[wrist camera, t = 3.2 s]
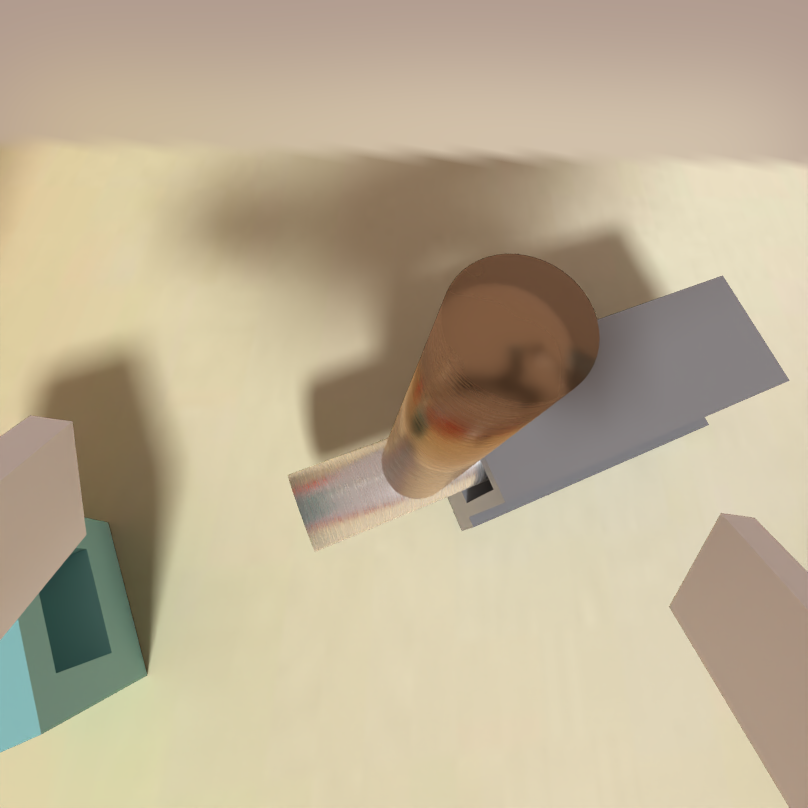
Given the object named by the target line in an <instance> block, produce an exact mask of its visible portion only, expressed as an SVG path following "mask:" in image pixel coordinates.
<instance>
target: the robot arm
mask: <svg viewBox="0 0 808 808" xmlns="http://www.w3.org/2000/svg"><path fill="white" fill-rule="evenodd" d="M85 536H86V527H85V519H84V511H83V502H82V494H81V486H80V478H79V470H78V462H77V454H76V446H75V437H74V429H73V421H66V420H59V419H52V418H45V417H38V416H31V415H30V416H28V417H27V418H26V419H24V420H23V421H21V422H20V423H19V424H17V425H16V426H14V427H13V428H12V429H10V430H9V431H7V432H6V433H5V434H3V435H2V436H0V640H1V639H2V638H3V636H4V635H5V634H6V633H7V631H8V630H9V629H10V628H11V627H12V625H13V624H14V623H15V622H16V620H17V619H18V618H19V617H20V616H21V614H22V613H23V612H24V611H25V609H26V608H27V607H28V606H29V604H30V603H31V602H32V601H33V600H34V598H35V597H36V596H37V595H38V593H39V592H40V591H41V590H42V589H43V587H44V586H45V585H46V584H47V582H48V581H49V580H50V579H51V578H52V576H53V575H54V574H55V573H56V571H57V570H58V569H59V568H60V567H61V565H62V564H63V563H64V562H65V560H66V559H67V558H68V557H69V556H70V554H71V553H72V552H73V551H74V549H75V548H76V547H77V546H78V544H79V543H80V542H81V541H82V540H83V538H84V537H85ZM669 607H670V609H671V611H672V612H673V614H674V616H675V617H676V619H677V621H678V622H679V624H680V626H681V627H682V629H683V631H684V632H685V634H686V636H687V637H688V639H689V641H690V642H691V644H692V646H693V647H694V649H695V651H696V652H697V654H698V656H699V657H700V659H701V661H702V662H703V664H704V666H705V667H706V669H707V671H708V672H709V674H710V676H711V677H712V679H713V681H714V682H715V684H716V686H717V687H718V689H719V691H720V693H721V694H722V696H723V698H724V699H725V701H726V703H727V704H728V706H729V708H730V709H731V711H732V713H733V714H734V716H735V718H736V719H737V721H738V723H739V724H740V726H741V728H742V729H743V731H744V733H745V734H746V736H747V738H748V739H749V741H750V743H751V744H752V746H753V748H754V749H755V751H756V753H757V754H758V756H759V758H760V759H761V761H762V763H763V764H764V766H765V768H766V769H767V771H768V773H769V774H770V776H771V778H772V779H773V781H774V783H775V784H776V786H777V788H778V789H779V791H780V793H781V794H782V796H783V798H784V799H785V801H786V803H787V804H788V806H789V808H808V572H807V571H806V570H805V569H804V568H803V567H802V566H801V565H800V564H799V563H798V562H797V561H796V560H795V559H794V558H793V557H792V556H791V555H790V553H789V552H788V551H787V550H786V549H785V548H784V547H783V546H782V545H781V544H780V543H779V542H778V541H777V540H776V539H775V538H774V537H773V536H772V535H771V534H770V533H769V532H768V531H767V530H766V529H765V528H764V527H763V526H762V525H761V524H760V523H759V522H758V521H757V520H756V519H755V518H752V517H745V516H738V515H731V514H724V513H721V514H720V516H719V518H718V519H717V521H716V523H715V525H714V527H713V528H712V530H711V532H710V534H709V536H708V537H707V539H706V541H705V543H704V545H703V546H702V548H701V550H700V552H699V554H698V555H697V557H696V559H695V561H694V563H693V564H692V566H691V568H690V570H689V572H688V574H687V575H686V577H685V579H684V581H683V583H682V584H681V586H680V588H679V590H678V592H677V593H676V595H675V597H674V599H673V601H672V602H671V604H670V606H669Z"/></svg>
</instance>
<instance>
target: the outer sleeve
mask: <svg viewBox="0 0 808 808" xmlns="http://www.w3.org/2000/svg"><path fill="white" fill-rule="evenodd" d="M597 321H598V326H599V337H600V340H599V350H598V354H597V358H596V360H595V363H594V366H593V367H592V369H591V371H590V373H589V374H588V375H587V377H586V378H585V379H584V380H583V381H582V382H581V383H580V384H579V385H578V386H577V387H576V388H574V389H573V390H572V391H571V392H569V393H568V394H567V395H565V396H564V397H563V398H561V399H560V400H559V401H557V402H556V403H555V404H553V405H552V406H551V407H550V408H548V409H547V410H546V411H544V412H543V413H542V414H540V415H539V416H538V417H536V418H535V419H534V420H532V421H531V422H530V423H528V424H527V425H526V426H525V427H523V428H522V429H521V430H519V431H518V432H517V433H515V434H514V435H513V436H511V437H510V438H509V439H507V440H506V441H505V442H503V443H502V444H501V445H500V446H498V447H497V448H496V449H494V450H493V451H492V452H490V453H489V454H488V455H486V456H485V457H484V458H482V459H481V460H480V461H481V463H482V465H483V467H484V469H485V472H486V474H487V476H488V478H489V480H487V481H485V482H482V483H480V484H478V485H475V486H473V487H470V488H468V489H465V490H463V491H461V492H458V493H456V494H453V495H451V496H449V497H448V500H449V502H450V504H451V507H452V509H453V511H454V514H455V516H456V518H457V521H458V523H459V525H460V528H461V530H462V531H463V530H466V529H469V528H472V527H475V526H477V525H480V524H482V523H484V522H487V521H489V520H491V519H493V518H496V517H498V516H500V515H503V514H505V513H507V512H510V511H512V510H514V509H516V508H519V507H521V506H523V505H526V504H528V503H530V502H533V501H535V500H537V499H539V498H542V497H544V496H546V495H549V494H551V493H553V492H556V491H558V490H560V489H562V488H565V487H567V486H569V485H572V484H574V483H576V482H579V481H581V480H583V479H585V478H588V477H590V476H592V475H595V474H597V473H599V472H602V471H604V470H606V469H608V468H611V467H613V466H615V465H618V464H620V463H622V462H624V461H627V460H629V459H631V458H634V457H636V456H638V455H641V454H643V453H645V452H647V451H650V450H652V449H654V448H657V447H659V446H661V445H664V444H666V443H668V442H670V441H673V440H675V439H677V438H680V437H682V436H684V435H687V434H689V433H691V432H693V431H696V430H698V429H700V428H703V427H705V426H707V425H709V424H708V422H707V421H706V419H705V417H706V416H708V415H710V414H713V413H715V412H717V411H720V410H722V409H724V408H727V407H729V406H731V405H734V404H736V403H738V402H741V401H743V400H745V399H748V398H750V397H752V396H755V395H757V394H759V393H762V392H764V391H766V390H768V389H771V388H773V387H775V386H778V385H780V384H782V383H785V382H787V381H789V379H788V377H787V376H786V374H785V373H784V371H783V370H782V368H781V366H780V365H779V363H778V362H777V360H776V359H775V357H774V355H773V354H772V352H771V351H770V349H769V348H768V346H767V344H766V343H765V341H764V340H763V338H762V337H761V335H760V333H759V332H758V330H757V329H756V327H755V326H754V324H753V322H752V321H751V319H750V318H749V316H748V315H747V313H746V311H745V310H744V308H743V307H742V305H741V304H740V302H739V300H738V299H737V297H736V296H735V294H734V293H733V291H732V289H731V288H730V286H729V285H728V283H727V282H726V280H725V278H724V277H723V276H720V277H717V278H714V279H712V280H709V281H706V282H703V283H700V284H697V285H695V286H692V287H689V288H686V289H683V290H680V291H677V292H675V293H672V294H669V295H666V296H663V297H660V298H658V299H655V300H652V301H649V302H646V303H643V304H641V305H638V306H635V307H632V308H629V309H626V310H623V311H621V312H618V313H615V314H612V315H609V316H606V317H604V318H601V319H598V320H597Z"/></svg>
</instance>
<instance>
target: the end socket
mask: <svg viewBox="0 0 808 808" xmlns="http://www.w3.org/2000/svg"><path fill="white" fill-rule="evenodd" d="M84 519H85V527H86V536H85V537H84V538H83V540H82V541H81V542H80V543H79V544H78V546H77V547H76V548H75V549H74V551H73V552H72V553H71V554H70V556H69V557H68V558H67V559H66V560H65V562H64V563H63V564H62V565H61V567H60V568H59V569H58V570H57V571H56V573H55V574H54V575H53V576H52V578H51V579H50V580H49V581H48V582H47V584H46V585H45V586H44V587H43V589H42V590H41V591H40V592H39V593H38V595H37V596H36V597H35V598H34V600H33V601H32V602H31V603H30V604H29V606H28V607H27V608H26V609H25V611H24V612H23V613H22V614H21V616H20V617H19V618H18V619H17V620H16V622H15V623H14V624H13V625H12V627H11V628H10V629H9V630H8V631H7V633H6V634H5V635H4V636H3V638H2V639H1V640H0V752H2V751H5V750H7V749H9V748H11V747H14V746H16V745H18V744H21V743H23V742H25V741H27V740H30V739H32V738H34V737H36V736H39V735H41V734H43V733H44V732H46V731H48V730H50V729H52V728H53V727H55V726H57V725H59V724H61V723H62V722H64V721H66V720H68V719H70V718H71V717H73V716H75V715H77V714H79V713H80V712H82V711H84V710H86V709H88V708H89V707H91V706H93V705H95V704H97V703H98V702H100V701H102V700H104V699H105V698H107V697H109V696H111V695H113V694H114V693H116V692H118V691H120V690H122V689H123V688H125V687H127V686H129V685H131V684H132V683H134V682H136V681H138V680H140V679H141V678H143V677H145V676H147V672H146V668H145V664H144V660H143V656H142V653H141V649H140V645H139V641H138V637H137V633H136V629H135V625H134V621H133V617H132V614H131V610H130V606H129V602H128V598H127V594H126V590H125V586H124V582H123V578H122V575H121V571H120V567H119V563H118V559H117V555H116V551H115V547H114V543H113V539H112V535H111V532H110V528H109V524H108V522H104V521H99V520H94V519H90V518H85V517H84Z"/></svg>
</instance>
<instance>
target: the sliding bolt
mask: <svg viewBox="0 0 808 808" xmlns="http://www.w3.org/2000/svg"><path fill="white" fill-rule="evenodd" d="M599 340H600V337H599V326H598V321H597V318H596V315H595V312H594V309H593V307H592V305H591V303H590V301H589V299H588V298H587V296H586V295H585V293H584V292H583V290H582V289H581V288H580V287H579V286H578V284H577V283H576V282H575V281H574V280H573V279H572V278H571V277H569V276H568V275H567V274H566V273H564V272H563V271H561V270H560V269H558V268H557V267H555V266H553V265H551V264H549V263H547V262H545V261H543V260H540V259H537V258H534V257H530V256H526V255H519V254H501V255H494V256H490V257H486V258H484V259H481V260H478V261H477V262H475V263H473V264H471V265H469V266H468V267H467V268H465V269H464V270H463V271H462V272H461V273H460V274H459V275H458V276H457V277H456V278H455V279H454V281H453V282H452V283H451V285H450V287H449V289H448V291H447V293H446V295H445V298H444V300H443V303H442V305H441V308H440V310H439V313H438V315H437V318H436V320H435V323H434V325H433V328H432V330H431V333H430V335H429V338H428V340H427V343H426V345H425V348H424V350H423V353H422V355H421V358H420V360H419V363H418V365H417V368H416V370H415V373H414V375H413V378H412V380H411V383H410V385H409V388H408V390H407V393H406V395H405V398H404V400H403V403H402V405H401V408H400V410H399V413H398V415H397V418H396V420H395V423H394V425H393V428H392V430H391V433H390V435H389V437H388V438H386V439H383V440H380V441H378V442H375V443H372V444H370V445H367V446H364V447H362V448H359V449H356V450H354V451H351V452H348V453H346V454H343V455H340V456H338V457H335V458H332V459H330V460H327V461H324V462H321V463H319V464H316V465H313V466H311V467H308V468H305V469H303V470H300V471H297V472H295V473H292V474H289V475H288V478H289V481H290V484H291V488H292V491H293V493H294V496H295V499H296V502H297V505H298V508H299V511H300V514H301V516H302V519H303V522H304V525H305V527H306V530H307V533H308V536H309V538H310V541H311V543H312V546H313V548H314V551H315V552H316V551H318V550H321V549H323V548H325V547H328V546H330V545H333V544H335V543H337V542H340V541H342V540H345V539H347V538H350V537H352V536H354V535H357V534H359V533H362V532H364V531H366V530H369V529H371V528H374V527H376V526H379V525H381V524H383V523H386V522H388V521H391V520H393V519H395V518H398V517H400V516H403V515H405V514H408V513H410V512H412V511H415V510H417V509H420V508H422V507H424V506H427V505H429V504H432V503H434V502H436V501H439V500H441V499H444V498H446V497H449V496H451V495H453V494H456V493H458V492H461V491H463V490H465V489H468V488H470V487H473V486H475V485H478V484H480V483H482V482H485V481H487V480H489V478H488V476H487V474H486V472H485V469H484V467H483V465H482V463H481V461H480V460H481V459H482V458H484V457H485V456H486V455H488V454H489V453H490V452H492V451H493V450H494V449H496V448H497V447H498V446H500V445H501V444H502V443H503V442H505V441H506V440H507V439H509V438H510V437H511V436H513V435H514V434H515V433H517V432H518V431H519V430H521V429H522V428H523V427H525V426H526V425H527V424H528V423H530V422H531V421H532V420H534V419H535V418H536V417H538V416H539V415H540V414H542V413H543V412H544V411H546V410H547V409H548V408H550V407H551V406H552V405H553V404H555V403H556V402H557V401H559V400H560V399H561V398H563V397H564V396H565V395H567V394H568V393H569V392H571V391H572V390H573V389H574V388H576V387H577V386H578V385H579V384H580V383H581V382H582V381H583V380H584V379H585V378H586V377H587V375H588V374H589V373H590V371H591V369H592V367H593V366H594V363H595V360H596V358H597V354H598V350H599Z"/></svg>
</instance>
